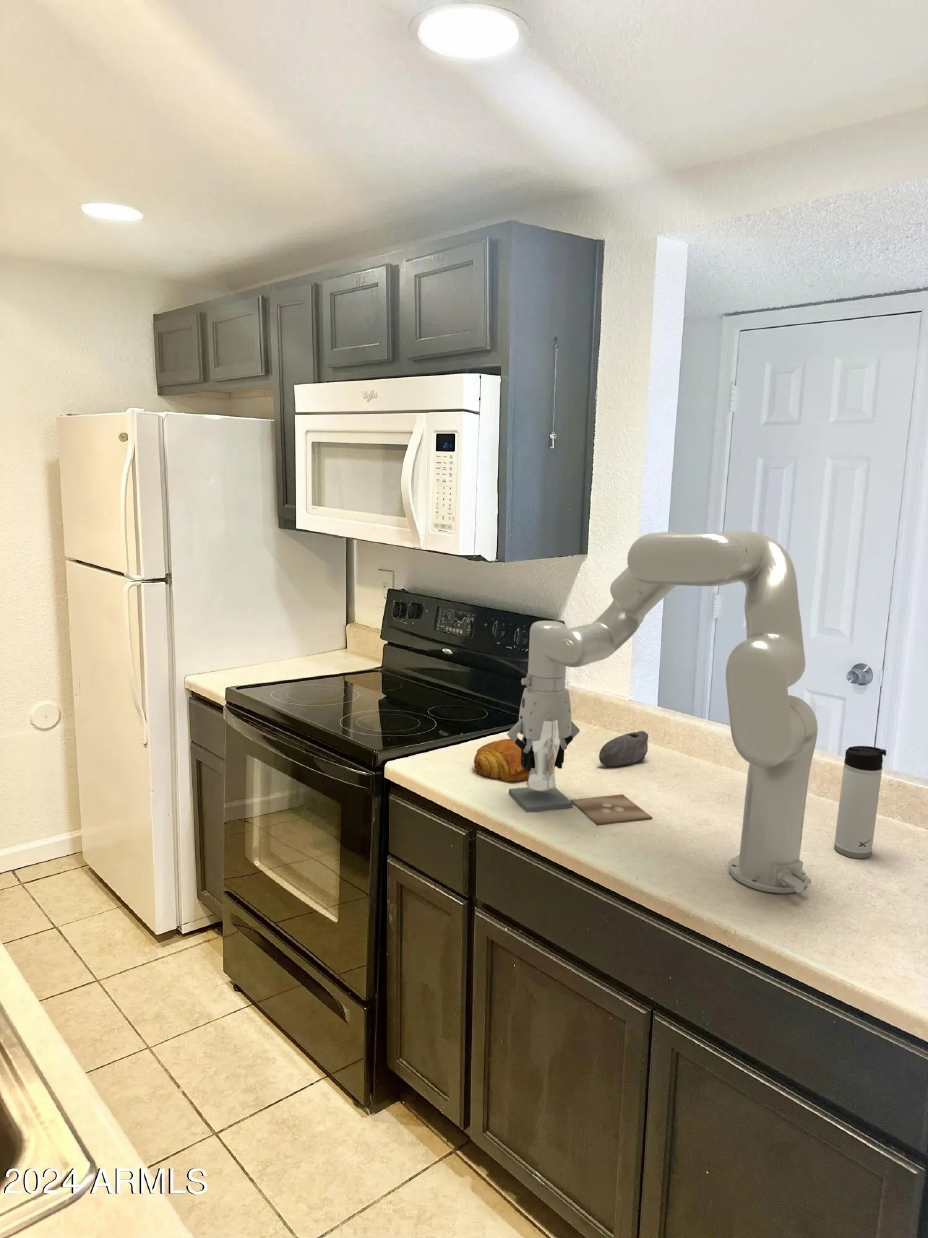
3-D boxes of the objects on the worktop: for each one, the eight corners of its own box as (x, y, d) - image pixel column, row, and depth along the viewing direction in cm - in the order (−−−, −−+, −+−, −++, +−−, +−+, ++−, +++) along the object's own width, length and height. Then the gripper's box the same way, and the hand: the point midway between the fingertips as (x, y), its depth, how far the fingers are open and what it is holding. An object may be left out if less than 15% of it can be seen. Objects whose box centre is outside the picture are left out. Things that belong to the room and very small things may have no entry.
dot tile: (652, 819, 165) (652, 817, 165) (597, 825, 161) (597, 823, 161) (622, 796, 176) (622, 794, 176) (570, 801, 173) (570, 799, 173)
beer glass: (556, 794, 168) (560, 722, 165) (521, 790, 169) (525, 719, 167) (559, 782, 175) (563, 713, 172) (526, 778, 176) (529, 710, 174)
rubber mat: (572, 807, 170) (572, 803, 169) (526, 812, 166) (527, 807, 166) (552, 789, 179) (552, 784, 179) (508, 793, 176) (508, 789, 176)
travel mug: (871, 863, 149) (884, 756, 146) (831, 853, 153) (843, 748, 149) (875, 850, 155) (888, 746, 151) (836, 841, 158) (848, 739, 154)
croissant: (465, 775, 192) (461, 742, 190) (522, 756, 199) (519, 725, 197) (497, 796, 179) (493, 761, 178) (557, 775, 186) (554, 742, 184)
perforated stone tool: (605, 772, 190) (607, 743, 189) (590, 765, 195) (592, 736, 193) (654, 762, 198) (656, 734, 197) (638, 755, 202) (640, 727, 201)
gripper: (512, 689, 162) (509, 778, 165) (593, 685, 167) (588, 770, 171) (499, 680, 169) (496, 765, 172) (577, 676, 174) (572, 758, 178)
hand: (542, 767), depth 171 cm, fingers closed on beer glass, 6 cm apart
